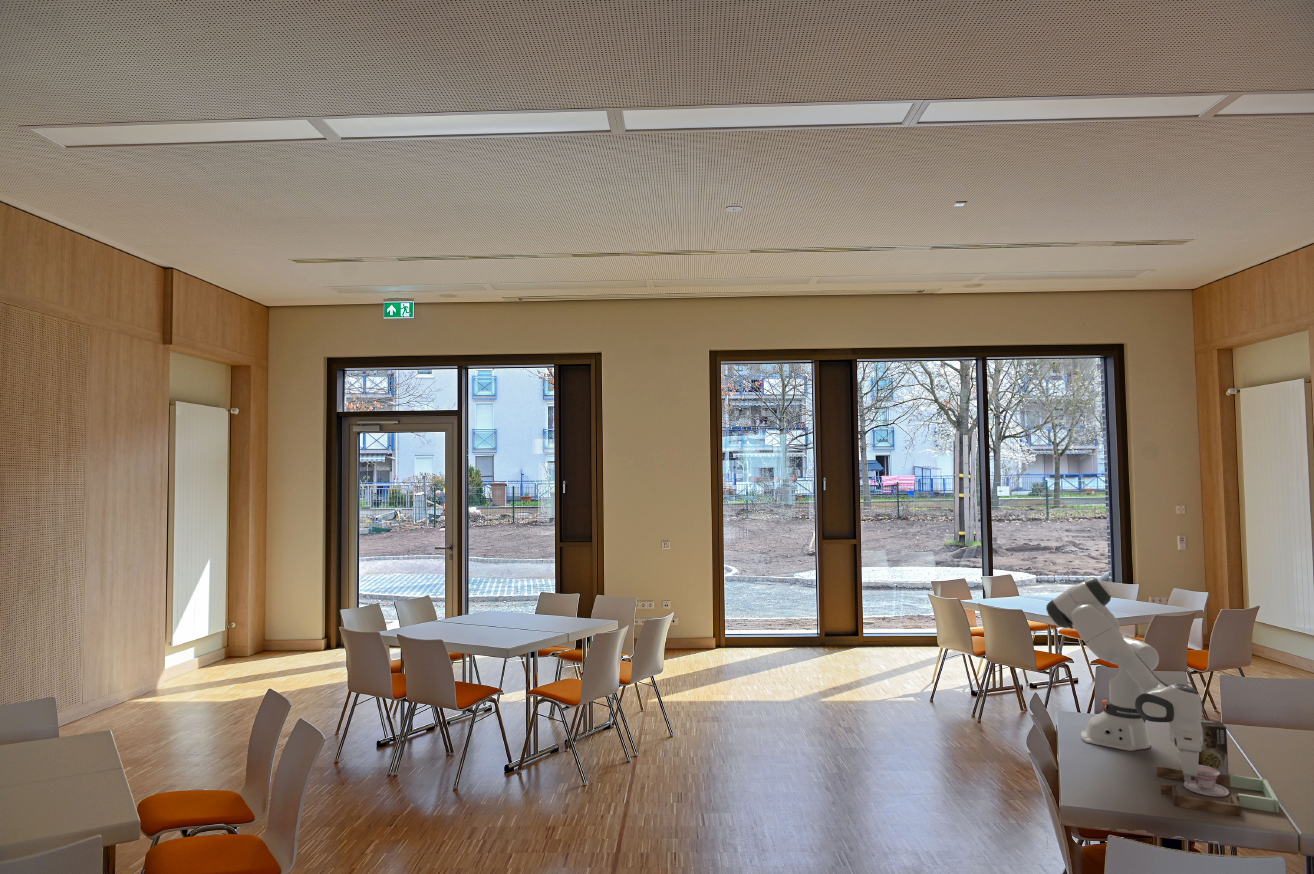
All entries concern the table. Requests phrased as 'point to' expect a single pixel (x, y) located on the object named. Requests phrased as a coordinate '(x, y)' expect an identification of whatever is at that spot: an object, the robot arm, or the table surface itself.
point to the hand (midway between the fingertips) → (1187, 780)
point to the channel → (1198, 803)
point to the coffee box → (1214, 746)
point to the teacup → (1206, 782)
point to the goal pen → (1255, 801)
